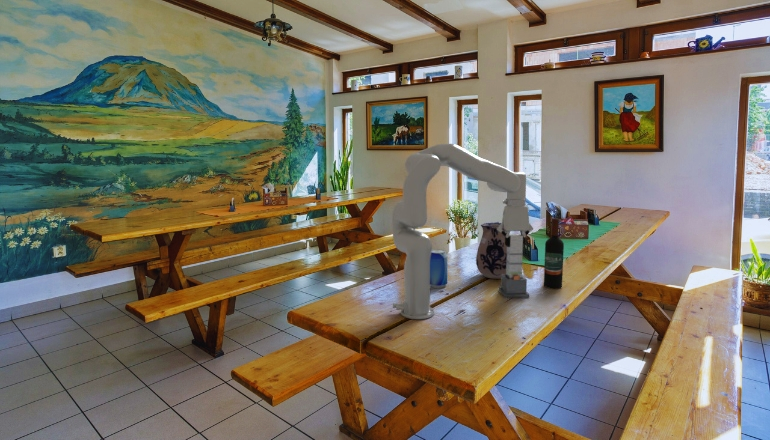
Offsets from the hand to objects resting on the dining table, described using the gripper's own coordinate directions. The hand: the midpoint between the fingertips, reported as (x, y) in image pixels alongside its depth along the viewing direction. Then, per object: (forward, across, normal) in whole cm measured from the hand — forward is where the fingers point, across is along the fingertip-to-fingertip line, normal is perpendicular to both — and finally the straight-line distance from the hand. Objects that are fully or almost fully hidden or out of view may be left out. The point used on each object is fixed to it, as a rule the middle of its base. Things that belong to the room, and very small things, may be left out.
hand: (514, 246), depth 190 cm
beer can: (+21, -30, +14) cm, 39 cm away
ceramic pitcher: (+21, -1, +27) cm, 34 cm away
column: (+13, 0, 0) cm, 13 cm away
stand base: (+21, 0, 0) cm, 21 cm away
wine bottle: (+21, +20, +9) cm, 30 cm away
